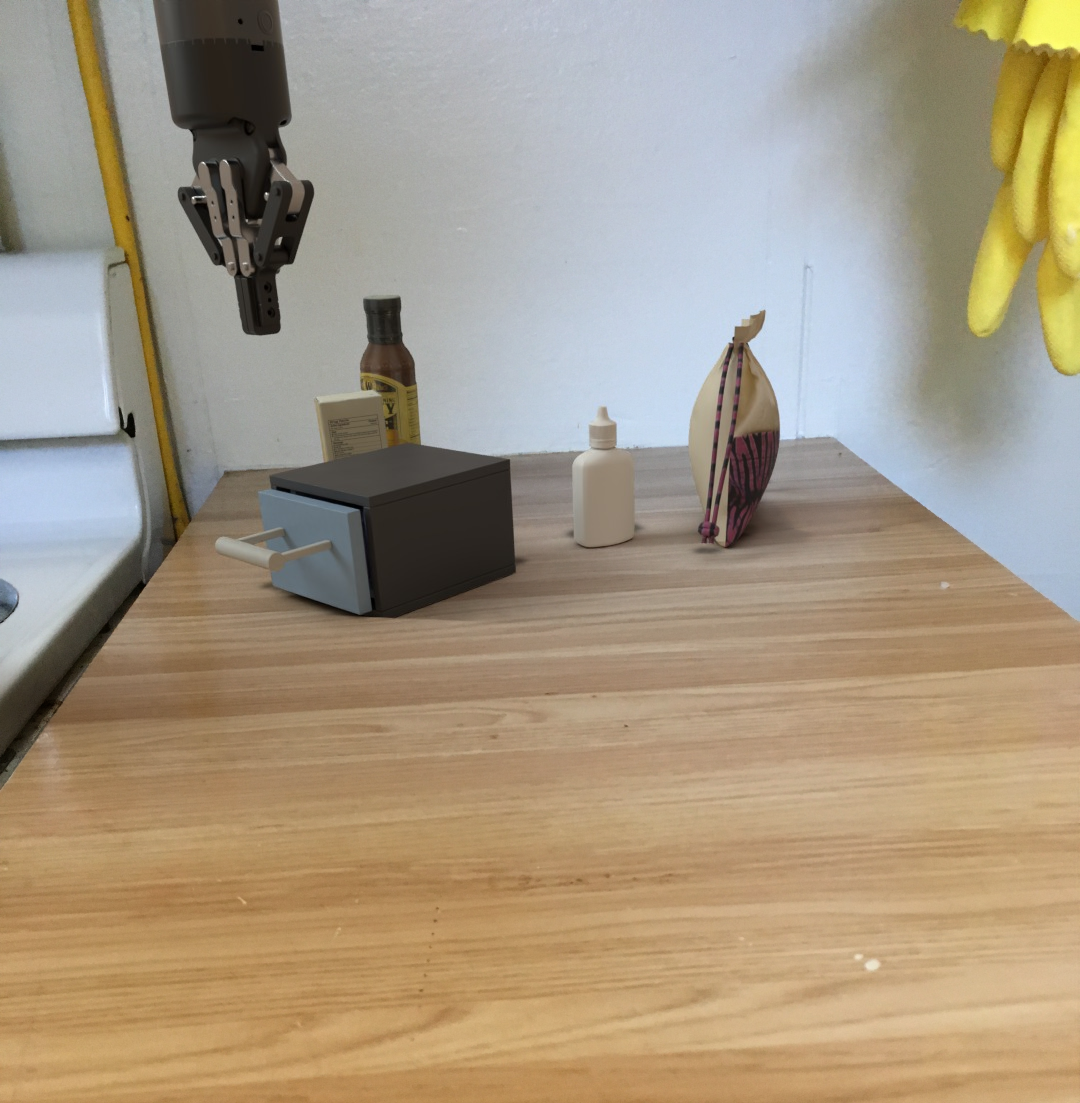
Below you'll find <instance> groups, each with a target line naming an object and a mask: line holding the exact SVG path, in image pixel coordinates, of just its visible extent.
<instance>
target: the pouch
mask: <svg viewBox="0 0 1080 1103" xmlns="http://www.w3.org/2000/svg"><path fill="white" fill-rule="evenodd" d="M766 313H767V312H766V309H763V310H759V313H757V314H750V316H749V318H741V324H740V326H739V325H736V326H735V325H734V333H733V335H734V336H732V337H731V341H732V342H730V341H729V342H728V343H727V344H726V346H725V347H724V348H723V350H722V352H721V354H720V356H719V358H718V359H717V361H716V362H715V363H714V365H713V366H712V368H711V370H710V371H709V373H708V374H707V376H706V378H705V379H704V381H703V383H702V385H701V387H700V389H699V391H698V393H697V396H696V398H695V401H694V404H693V407H692V410H691V414H690V419H689V427H688V454H689V455H688V456H689V462H690V464H689V465H690V469H691V473H692V474H691V475H692V479H693V482H694V484H695V485H694V486H695V489H696V490H695V491H696V493H697V496H698V500H699V503H700V505H701V509H702V511H703V514H704V521H703V522H701V523H699V525H698V528H697V532H698V533H699V535H701V536H702V537H701V538H702V539H701V544H712V545H713V544H715V542H717V544H718V545H719V546H721V547H724V548H726V547H731V546H733V544H735V543H736V542H737V541H738V540H739V539H740V537H741V535H742V534H743V533H744V532H745V529H746V528H747V526H748V524H749V522H750V521H751V519H752V517H753V515H754V513H755V512H756V510H757V508H758V506H759V504H760V502H761V501H762V498H763V496H764V494H765V492H766V489H767V488H768V485H769V483H770V480H771V478H772V476H773V472H774V469H775V466H776V463H777V458H778V454H779V448H780V442H781V441H780V440H781V421H780V420H781V418H780V411H779V405H778V404H779V403H778V400H777V396H776V393H775V391H774V388H773V386H772V384H771V381H770V379H769V377H768V376H767V373H766V371H765V370H764V368H763V367H762V365H761V364H760V362H759V361H758V359H757V357H756V356H755V355H754V353H753V351H752V349H751V348H750V345H749V343H750V342H751V341H752V340H753V339H755V338H756V337H757V336H758V334H759V333H760V332H761V331H762V330H763V326H764V323H765V320H766Z"/></svg>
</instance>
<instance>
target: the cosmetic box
mask: <svg viewBox="0 0 1080 1103" xmlns="http://www.w3.org/2000/svg"><path fill="white" fill-rule="evenodd" d="M313 400H314V406H315V413H316V418H317V425H318V426H317V427H318V431H319V438H320V444H321V452H322V458H323V463H324V462H328V461H332V460H336V459H341V458H345V457H349V456H353V455H358V454H362V453H366V452H371V451H375V450H379V449H383V448H388V442H387V434H386V426H385V419H384V411H383V403H382V396H381V395H380V394H379V393H378V392H376V391H375V390H368V391H361V390H359V391H353V392H344V393H343V392H342V393H335V394H327V395H316V396H313Z"/></svg>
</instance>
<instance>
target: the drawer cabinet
mask: <svg viewBox="0 0 1080 1103" xmlns="http://www.w3.org/2000/svg"><path fill="white" fill-rule="evenodd" d="M511 475H512V474H511V459H510V458H506V457H505V458H504V457H500V456H499V457H498V456H493V455H486V454H480V453H475V452H468V451H462V450H455V449H450V448H443V447H437V446H431V445H425V444H421V445H419V444H413V443H405V444H400V445H396V446H392V447H388V448H383V449H379V450H375V451H371V452H366V453H362V454H358V455H353V456H349V457H345V458H341V459H336V460H332V461H328V462H324V461H323V462H320V463H316V464H311V465H307V466H302V467H298V468H294V469H290V470H285V471H280V472H277V473H272V474H269V475H268V477H269V484H270V489H273V490H277V491H281V492H286V493H290V489H291V490H295V491H299V492H304V493H308V494H312V495H317V496H321V497H326V498H330V499H334V500H339V501H343V502H347V503H352V504H356V505H360V506H365V507H364V512H365V521H366V530H367V538H368V547H369V555H370V564H371V573H372V581H373V590H374V598H375V599H374V598H371V597H370V599H371V607H372V611H370V612H367V613H364V614H361V616H364V617H367V618H380V619H381V618H382V619H394V618H397V617H400V616H402V615H405V614H408V613H410V612H413V611H416V610H418V609H422V608H424V607H426V606H429V605H432V604H435V603H438V602H439V601H440V602H441V601H443V600H446V599H448V598H451V597H453V596H456V595H460V594H461V593H464V592H467V591H470V590H473V589H475V588H478V587H480V586H483V585H486V584H488V583H492V582H495V581H497V580H500V579H502V578H505V577H507V576H510V575H513V574H515V573H517V566H516V550H515V549H516V548H515V531H514V530H515V528H514V510H513V494H512V492H513V490H512V476H511ZM290 494H291V493H290Z"/></svg>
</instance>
